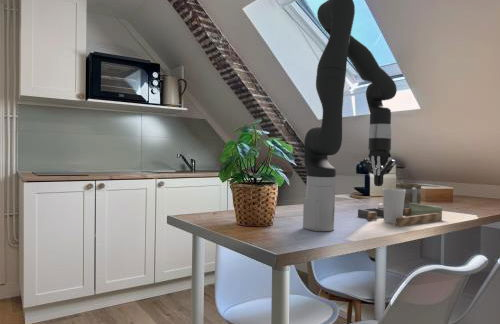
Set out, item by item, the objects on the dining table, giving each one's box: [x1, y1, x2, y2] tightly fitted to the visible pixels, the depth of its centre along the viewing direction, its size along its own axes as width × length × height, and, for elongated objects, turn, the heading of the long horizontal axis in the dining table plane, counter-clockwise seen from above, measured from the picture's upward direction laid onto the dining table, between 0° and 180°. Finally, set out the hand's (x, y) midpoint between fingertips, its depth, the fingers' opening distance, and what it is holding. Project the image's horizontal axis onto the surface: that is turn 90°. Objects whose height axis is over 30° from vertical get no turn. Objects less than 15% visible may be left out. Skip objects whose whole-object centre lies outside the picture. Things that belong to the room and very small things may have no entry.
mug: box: [395, 182, 422, 208], centre depth 160 cm, size 16×11×12 cm
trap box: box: [357, 203, 443, 227], centre depth 141 cm, size 27×20×5 cm
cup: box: [382, 187, 406, 224], centre depth 134 cm, size 8×8×12 cm
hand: (378, 185), depth 129 cm, fingers closed
